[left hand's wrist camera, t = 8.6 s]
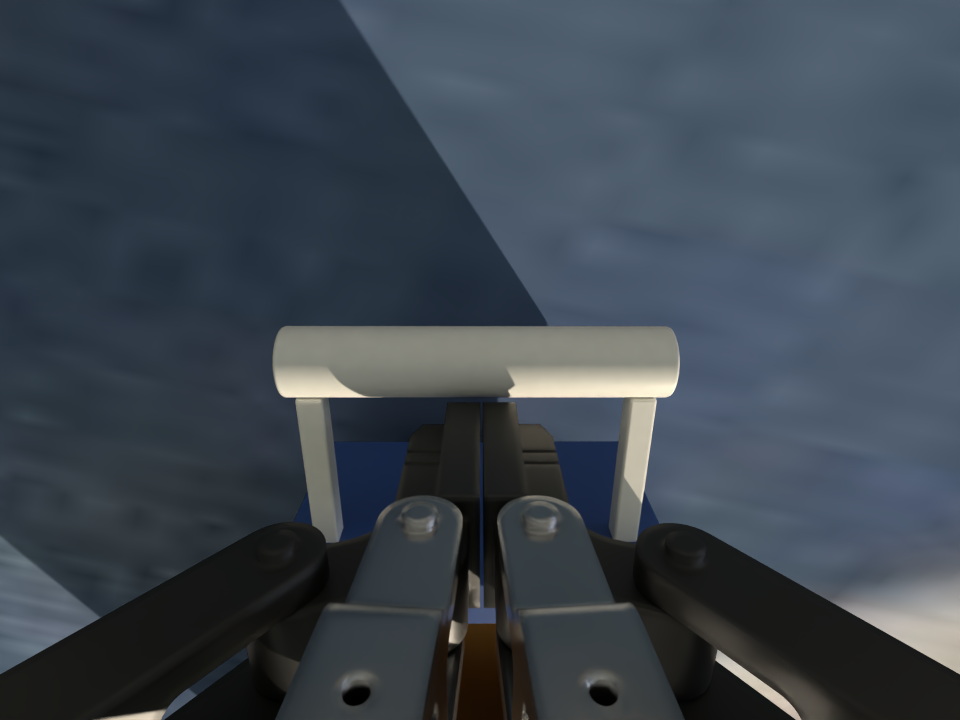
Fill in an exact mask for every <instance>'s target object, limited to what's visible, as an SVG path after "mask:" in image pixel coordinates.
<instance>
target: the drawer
mask: <svg viewBox="0 0 960 720" xmlns="http://www.w3.org/2000/svg"><path fill="white" fill-rule="evenodd" d="M272 362H273V375H274V381H275V385H276V388H277V390H278V392H279V393H280V395H282V396H284V397H297V398H296V400H295V403H296V411H297V418H298V425H299V432H300V439H301V447H302V454H303V461H304V468H305V475H306V483H307V490H308V491H307V493H306V495H305V497H304V500H303V502H302V504H301V506H300V508H299V510H298V513H297V515H296V517H295V519H294V521H293V522H301V523H306V524H309V525H312V526H314V527H316V528H318V529H319V530H320V531H321V532H322V533H323V535H324V537H325V539H326V545H327V544H331V543H336V542H340V541H344V540H349V539H353V538H356V537H360V536H362V535H365V534H367V533H369V532H371V531H373V529H374V527H375V524H376V522H377V519H378V517H379V515H380V514H381V512H382V511H383V510H384V509H385V508H386V507H388V506H389V505H391V504H392V503H394V502H395V499H396V495H397V491H398V486H399V482H400V478H401V474H402V470H403V465H404V461H405V457H406V453H407V448H408V444H409V442H334V440H333V431H332V422H331V413H330V404H329V397H624V399H623V407H622V416H621V424H620V433H619V442H554V444H555V448H556V453H557V456H558V460H559V464H560V468H561V472H562V476H563V480H564V484H565V488H566V492H567V496H568V500H569V504H570V505H571V506H572V507H574V508H575V509H576V510H577V511H578V512H579V514H580V515H581V517H582V519H583V522H584V524H585V527H586V528H588V529H590V530H591V531H593V532H595V533H597V534H600V535H602V536H605V537H608V538H612V539H616V540H621V541H625V542H629V543H634V544H636V541H637V538H638V536H639V535H640V533H641V532H642V531H643V530H645V529H646V528H648V527H650V526H653V525H656V524H659V522H658V520H657V518H656V516H655V514H654V511H653V509H652V507H651V505H650V503H649V501H648V499H647V496H646V494H645V492H644V486H645V479H646V472H647V465H648V458H649V451H650V444H651V437H652V430H653V423H654V416H655V409H656V402H657V401H656V398H655V397H668V396H670V395H671V394H672V393H673V392H674V390H675V388H676V385H677V381H678V376H679V364H680V359H679V348H678V343H677V339H676V336H675V334H674V332H673V331H672V329H671V328H669V327H666V326H285V327H282V328H281V329H280V330H279V332H278V334H277V336H276V339H275V343H274V348H273V361H272ZM456 720H504V716H503V707H502V699H501V691H500V682H499V674H498V665H497V657H496V612H495V608H484V582H483V442H480V608H468V628H467V632H466V635H465V637H464V657H463V665H462V674H461V682H460V691H459V699H458V707H457V716H456Z"/></svg>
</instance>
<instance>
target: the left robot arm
mask: <svg viewBox="0 0 960 720" xmlns="http://www.w3.org/2000/svg"><path fill="white" fill-rule="evenodd" d="M483 582H484V608H495V612H496V657H497V665H498V674H499V682H500V691H501V699H502V707H503V716H504V720H795V719H794V718H793V717H791V716H790V715H789V714H787V713H786V712H784V711H783V710H782V709H780V708H779V707H778V706H776V705H775V704H774V703H772V702H771V701H770V700H768V699H767V698H765V697H764V696H763V695H761V694H760V693H759V692H757V691H756V690H755V689H753V688H752V687H751V686H749V685H748V684H746V683H745V682H744V681H742V680H741V679H740V678H738V677H737V676H736V675H734V674H733V673H732V672H730V671H729V670H728V669H726V668H725V667H723V666H722V665H721V664H719V663H718V662H717V661H715V659H716V654H717V649H718V650H719V651H721V652H722V653H724V654H725V655H726V656H728V657H729V658H731V659H732V660H733V661H735V662H736V663H738V664H739V665H740V666H742V667H743V668H744V669H746V670H747V671H749V672H750V673H751V674H753V675H754V676H756V677H757V678H758V679H760V680H761V681H763V682H764V683H765V684H767V685H768V686H770V687H771V688H772V689H774V690H775V691H776V692H778V693H779V694H781V695H782V696H783V697H784V698H785V699H786V700H787V701H788V702H790V704H791V705H792V706H793V707H794V708H795V710H796V711H797V713H798V714H799V716H800V718H801V720H960V674H958V673H956V672H954V671H953V670H951V669H949V668H947V667H946V666H944V665H942V664H940V663H938V662H937V661H935V660H933V659H931V658H930V657H928V656H926V655H924V654H922V653H921V652H919V651H917V650H915V649H914V648H912V647H910V646H908V645H906V644H905V643H903V642H901V641H899V640H898V639H896V638H894V637H892V636H890V635H889V634H887V633H885V632H883V631H881V630H880V629H878V628H876V627H874V626H873V625H871V624H869V623H867V622H865V621H864V620H862V619H860V618H858V617H857V616H855V615H853V614H851V613H849V612H848V611H846V610H844V609H842V608H841V607H839V606H837V605H835V604H833V603H832V602H830V601H828V600H826V599H825V598H823V597H821V596H819V595H817V594H816V593H814V592H812V591H810V590H808V589H807V588H805V587H803V586H801V585H800V584H798V583H796V582H794V581H792V580H791V579H789V578H787V577H785V576H784V575H782V574H780V573H778V572H776V571H775V570H773V569H771V568H769V567H768V566H766V565H764V564H762V563H760V562H759V561H757V560H755V559H753V558H752V557H750V556H748V555H746V554H744V553H743V552H741V551H739V550H737V549H735V548H734V547H732V546H730V545H728V544H727V543H725V542H723V541H721V540H719V539H718V538H716V537H714V536H712V535H711V534H709V533H707V532H705V531H703V530H700V529H698V528H695V527H691V526H688V525H683V524H676V523H663V524H656V525H653V526H650V527H648V528H646V529H645V530H643V531H642V532H641V533H640V535H639V536H638V538H637V541H636V544H634V543H629V542H625V541H621V540H616V539H612V538H608V537H605V536H602V535H600V534H597V533H595V532H593V531H591V530H590V529H588V528H586V527H585V524H584V522H583V519H582V517H581V515H580V514H579V512H578V511H577V510H576V509H575V508H574V507H572V506H571V505H570V504H569V500H568V496H567V492H566V488H565V484H564V480H563V476H562V472H561V468H560V464H559V460H558V456H557V453H556V448H555V444H554V440H553V436H552V435H551V434H550V433H549V432H548V431H547V430H545V429H544V428H543V427H542V426H541V425H540V424H519V423H518V416H517V408H516V403H515V402H483ZM468 608H480V403H447V408H446V416H445V424H423V425H422V426H421V427H420V428H419V429H418V430H417V431H415V432H414V433H413V434H412V435H411V436H410V440H409V444H408V448H407V453H406V457H405V461H404V465H403V470H402V474H401V478H400V482H399V486H398V491H397V495H396V499H395V502H394V503H392V504H391V505H389V506H388V507H386V508H385V509H384V510H383V511H382V512H381V514H380V515H379V517H378V519H377V522H376V524H375V527H374V529H373V531H371V532H369V533H367V534H365V535H362V536H360V537H356V538H353V539H349V540H344V541H340V542H336V543H331V544H327V545H326V539H325V537H324V535H323V533H322V532H321V531H320V530H319V529H318V528H316V527H314V526H312V525H309V524H306V523H301V522H284V523H278V524H274V525H270V526H267V527H264V528H261V529H259V530H257V531H255V532H253V533H251V534H249V535H248V536H246V537H244V538H242V539H241V540H239V541H237V542H235V543H233V544H232V545H230V546H228V547H226V548H225V549H223V550H221V551H219V552H217V553H216V554H214V555H212V556H210V557H208V558H207V559H205V560H203V561H201V562H200V563H198V564H196V565H194V566H192V567H191V568H189V569H187V570H185V571H184V572H182V573H180V574H178V575H176V576H175V577H173V578H171V579H169V580H168V581H166V582H164V583H162V584H160V585H159V586H157V587H155V588H153V589H152V590H150V591H148V592H146V593H144V594H143V595H141V596H139V597H137V598H136V599H134V600H132V601H130V602H128V603H127V604H125V605H123V606H121V607H119V608H118V609H116V610H114V611H112V612H111V613H109V614H107V615H105V616H103V617H102V618H100V619H98V620H96V621H95V622H93V623H91V624H89V625H87V626H86V627H84V628H82V629H80V630H79V631H77V632H75V633H73V634H71V635H70V636H68V637H66V638H64V639H63V640H61V641H59V642H57V643H55V644H54V645H52V646H50V647H48V648H46V649H45V650H43V651H41V652H39V653H38V654H36V655H34V656H32V657H30V658H29V659H27V660H25V661H23V662H22V663H20V664H18V665H16V666H14V667H13V668H11V669H9V670H7V671H6V672H4V673H2V674H0V720H161V718H162V716H163V714H164V712H165V711H166V709H167V708H168V706H169V705H170V704H171V703H172V702H173V700H174V699H175V698H177V697H178V696H179V695H180V694H181V693H182V692H184V691H185V690H186V689H188V688H189V687H191V686H192V685H193V684H195V683H196V682H197V681H199V680H200V679H202V678H203V677H204V676H206V675H207V674H209V673H210V672H211V671H213V670H214V669H216V668H217V667H218V666H220V665H221V664H222V663H224V662H225V661H227V660H228V659H229V658H231V657H232V656H234V655H235V654H236V653H238V652H239V651H241V650H242V649H243V648H245V647H246V648H247V653H248V658H247V659H246V660H245V661H243V662H242V663H241V664H239V665H238V666H237V667H235V668H234V669H233V670H231V671H230V672H228V673H227V674H226V675H224V676H223V677H222V678H220V679H219V680H218V681H216V682H215V683H214V684H212V685H211V686H209V687H208V688H207V689H205V690H204V691H203V692H201V693H200V694H199V695H197V696H196V697H195V698H193V699H192V700H190V701H189V702H188V703H186V704H185V705H184V706H182V707H181V708H180V709H178V710H177V711H176V712H174V713H173V714H171V715H170V716H169V717H167V718H166V719H165V720H456V716H457V707H458V699H459V691H460V682H461V674H462V665H463V657H464V637H465V635H466V632H467V628H468Z"/></svg>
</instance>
